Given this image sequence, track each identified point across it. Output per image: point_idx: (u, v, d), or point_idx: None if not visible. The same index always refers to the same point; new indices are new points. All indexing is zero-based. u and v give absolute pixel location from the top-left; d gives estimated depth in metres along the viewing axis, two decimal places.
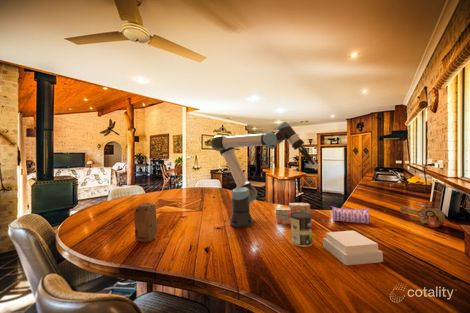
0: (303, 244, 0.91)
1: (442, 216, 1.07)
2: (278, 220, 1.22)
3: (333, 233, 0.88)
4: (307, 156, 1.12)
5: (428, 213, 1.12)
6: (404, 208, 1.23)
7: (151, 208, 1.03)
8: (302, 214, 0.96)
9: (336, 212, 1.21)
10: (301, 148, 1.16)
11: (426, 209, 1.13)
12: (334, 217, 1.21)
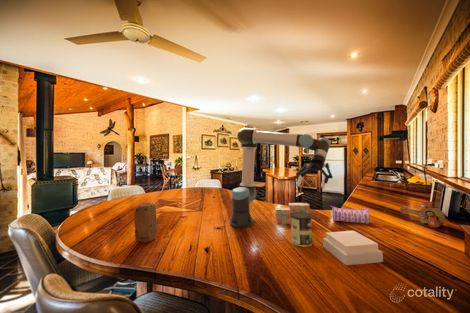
0: (303, 244, 0.91)
1: (442, 216, 1.07)
2: (278, 220, 1.22)
3: (333, 233, 0.88)
4: (331, 174, 1.01)
5: (428, 213, 1.12)
6: (404, 208, 1.23)
7: (151, 208, 1.03)
8: (302, 214, 0.96)
9: (336, 212, 1.21)
10: (328, 166, 1.06)
11: (426, 209, 1.13)
12: (334, 217, 1.21)
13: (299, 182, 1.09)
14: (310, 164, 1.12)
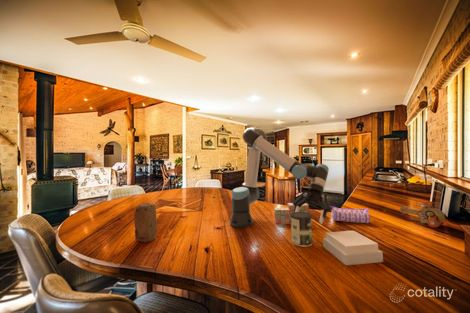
0: (303, 244, 0.91)
1: (442, 216, 1.07)
2: (277, 220, 1.22)
3: (333, 233, 0.88)
4: None
5: (428, 213, 1.12)
6: (404, 208, 1.23)
7: (151, 208, 1.03)
8: (302, 214, 0.96)
9: (337, 212, 1.21)
10: (327, 197, 1.01)
11: (426, 209, 1.13)
12: (334, 217, 1.21)
13: None
14: (308, 193, 1.07)
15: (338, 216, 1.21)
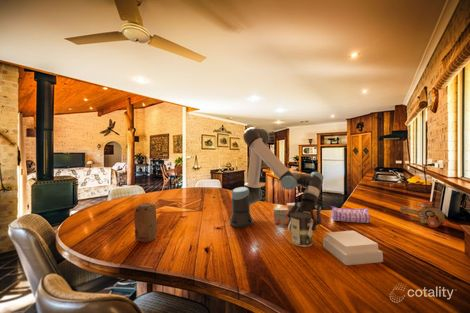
0: (303, 244, 0.91)
1: (442, 216, 1.07)
2: (276, 220, 1.22)
3: (333, 233, 0.88)
4: (320, 220, 0.92)
5: (428, 213, 1.12)
6: (404, 208, 1.23)
7: (151, 208, 1.03)
8: (302, 214, 0.96)
9: (337, 212, 1.21)
10: (320, 208, 0.97)
11: (426, 209, 1.13)
12: (335, 217, 1.21)
13: (290, 226, 0.98)
14: (301, 203, 1.03)
15: (338, 216, 1.20)
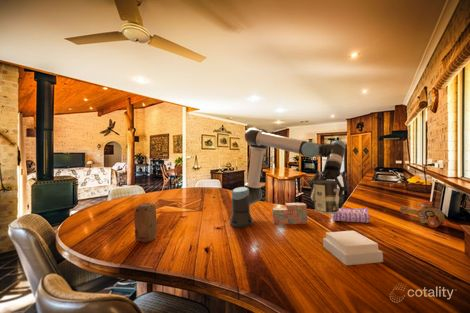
0: (330, 211, 0.84)
1: (442, 216, 1.07)
2: (275, 220, 1.22)
3: (333, 233, 0.88)
4: (347, 186, 0.85)
5: (428, 213, 1.12)
6: (404, 208, 1.23)
7: (151, 208, 1.03)
8: (326, 181, 0.89)
9: None
10: (345, 175, 0.90)
11: (426, 209, 1.13)
12: (335, 217, 1.21)
13: None
14: (323, 171, 0.96)
15: (338, 216, 1.21)
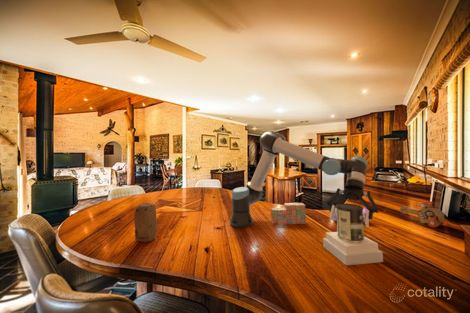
0: (355, 239, 0.78)
1: (442, 216, 1.07)
2: (274, 220, 1.22)
3: (333, 233, 0.88)
4: (376, 207, 0.80)
5: (428, 213, 1.12)
6: (404, 208, 1.23)
7: (151, 208, 1.03)
8: (350, 205, 0.84)
9: None
10: (370, 195, 0.85)
11: (426, 209, 1.13)
12: (336, 217, 1.20)
13: (332, 214, 0.87)
14: (345, 190, 0.91)
15: None
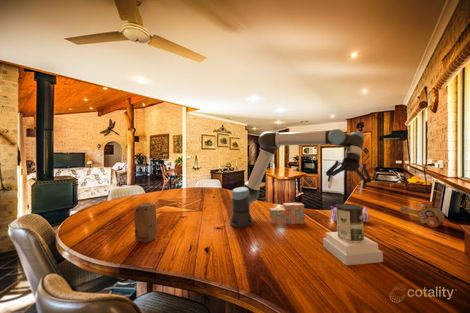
0: (355, 239, 0.78)
1: (441, 216, 1.07)
2: (273, 220, 1.22)
3: (333, 233, 0.88)
4: None
5: (428, 213, 1.12)
6: (404, 208, 1.23)
7: (151, 208, 1.03)
8: (350, 205, 0.84)
9: None
10: (365, 167, 0.95)
11: (426, 209, 1.13)
12: (336, 217, 1.21)
13: (331, 183, 0.98)
14: (343, 163, 1.01)
15: None
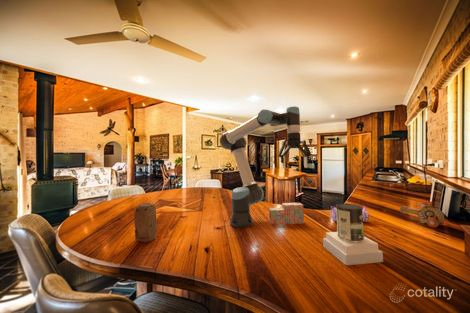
0: (355, 239, 0.78)
1: (441, 216, 1.07)
2: (272, 220, 1.22)
3: (333, 233, 0.88)
4: None
5: (428, 213, 1.12)
6: (404, 208, 1.23)
7: (151, 208, 1.03)
8: (350, 205, 0.84)
9: None
10: None
11: (426, 209, 1.13)
12: (336, 217, 1.20)
13: None
14: (289, 142, 1.12)
15: None
